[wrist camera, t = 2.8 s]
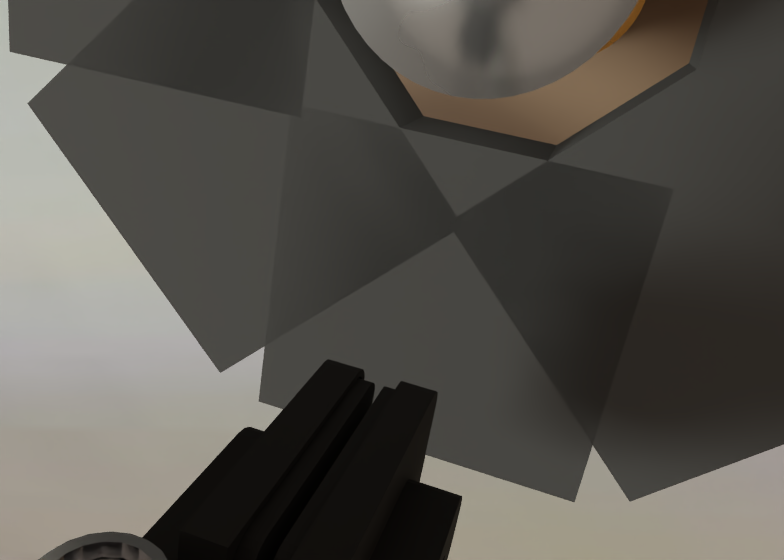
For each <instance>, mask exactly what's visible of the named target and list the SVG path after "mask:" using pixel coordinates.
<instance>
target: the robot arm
mask: <svg viewBox="0 0 784 560" xmlns="http://www.w3.org/2000/svg"><path fill="white" fill-rule="evenodd" d="M364 379H365V372H364V370H363V369H360V368H357V367H354V366H350V365H347V364H344V363H340V362H337V361H333V360H330V359H327V360H326V361H325V362H324V363H323V364H322V365H321V366H320V367H319V369H318V370H317V371H316V372H315V373H314V374H313V376H312V377H311V378H310V379H309V380H308V381H307V383H306V384H305V385H304V386H303V387H302V388H301V389H300V391H299V392H298V393H297V394H296V395H295V396H294V398H293V399H292V400H291V401H290V402H289V403H288V405H287V406H286V407H285V408H284V409H283V410H282V411H281V413H280V414H279V415H278V416H277V417H276V418H275V420H274V421H273V422H272V423H271V424H270V425H269V427H268V428H267V429H266V430H265V431H261V430H258V429H255V428H252V427H247V428H244V429H243V430H242V431H241V432H239V433H238V434H237V435H236V436H235V438H234V439H233V440H232V441H231V442H230V443H229V444H228V445H227V446H226V447H225V448H224V449H223V451H222V452H221V453H220V454H219V455H218V456H217V457H216V458H215V459H214V460H213V461H212V463H211V464H210V465H209V466H208V467H207V468H206V469H205V470H204V471H203V472H202V473H201V474H200V476H199V477H198V478H197V479H196V480H195V481H194V482H193V483H192V484H191V485H190V486H189V487H188V489H187V490H186V491H185V492H184V493H183V494H182V495H181V496H180V497H179V498H178V499H177V501H176V502H175V503H174V504H173V505H172V506H171V507H170V508H169V509H168V510H167V511H166V512H165V514H164V515H163V516H162V517H161V518H160V519H159V520H158V521H157V522H156V523H155V524H154V526H153V527H152V528H151V529H150V530H149V531H148V532H147V533H146V534H145V535H144V536H143V537H142V538H141V537H138V536H136V535H133V534H128V533H118V532H103V533H94V534H88V535H85V536H82V537H79V538H75V539H72V540H69V541H67V542H65V543H64V544H62V545H60V546H58V547H57V548H55V549H53V550H51V551H50V552H48V553H47V554H45V555H44V556H43V557H41V558H40V559H39V560H447V558H448V555H449V551H450V547H451V543H452V539H453V535H454V531H455V527H456V523H457V519H458V515H459V511H460V506H461V501H462V496H460V495H457V494H454V493H451V492H447V491H444V490H441V489H438V488H435V487H432V486H429V485H426V484H423V483H420V477H421V473H422V468H423V463H424V459H425V454H426V449H427V445H428V440H429V435H430V431H431V426H432V422H433V417H434V412H435V408H436V403H437V396H438V392H437V391H434V390H431V389H427V388H424V387H421V386H417V385H414V384H411V383H407V382H404V381H400V383H399V384H398V385H397V387H396V389H393V388H389V387H386V386H384V387H383V388H382V390H381V391H380V393H379V394H378V396H377V397H376V399H375V400H374V402H373V398H374V392H375V384H374V383H373V382H369V381H366V380H364ZM372 403H373V404H372Z"/></svg>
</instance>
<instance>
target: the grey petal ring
mask: <svg viewBox="0 0 784 560" xmlns="http://www.w3.org/2000/svg"><path fill="white" fill-rule="evenodd" d="M8 9H9V40H10V52H14V53H18V54H22V55H27V56H31V57H36V58H40V59H44V60H49V61H53V62H58V63H62V64H67V65H66V66H65V67H64V68H63V69H62V70H61V71H60V72H59V73H58V74H57V75H56V76H55V77H54V78H53V79H52V80H51V81H50V82H49V83H48V84H47V85H46V86H45V87H44V88H43V89H42V90H41V91H40V92H39V93H38V94H37V95H36V96H35V97H34V98H33V99H32V100H31V101H30V102H29V103H28V105H29V106H30V108H31V109H32V110H33V112H34V113H35V115H36V116H37V117H38V119H39V120H40V122H41V123H42V124H43V126H44V127H45V129H46V130H47V131H48V133H49V134H50V136H51V137H52V138H53V140H54V141H55V143H56V144H57V145H58V147H59V148H60V150H61V151H62V152H63V154H64V155H65V157H66V158H67V159H68V161H69V162H70V163H71V165H72V166H73V168H74V169H75V170H76V172H77V173H78V175H79V176H80V177H81V179H82V180H83V182H84V183H85V184H86V186H87V187H88V189H89V190H90V191H91V193H92V194H93V196H94V197H95V198H96V200H97V201H98V203H99V204H100V205H101V207H102V208H103V210H104V211H105V212H106V214H107V215H108V217H109V218H110V219H111V221H112V222H113V224H114V225H115V226H116V228H117V229H118V231H119V232H120V233H121V235H122V236H123V238H124V239H125V240H126V242H127V243H128V245H129V246H130V247H131V249H132V250H133V252H134V253H135V254H136V256H137V257H138V259H139V260H140V261H141V263H142V264H143V266H144V267H145V268H146V270H147V271H148V273H149V274H150V275H151V277H152V278H153V280H154V281H155V282H156V284H157V285H158V286H159V288H160V289H161V291H162V292H163V293H164V295H165V296H166V298H167V299H168V300H169V302H170V303H171V305H172V306H173V307H174V309H175V310H176V312H177V313H178V314H179V316H180V317H181V319H182V320H183V321H184V323H185V324H186V326H187V327H188V328H189V330H190V331H191V333H192V334H193V335H194V337H195V338H196V340H197V341H198V342H199V344H200V345H201V347H202V348H203V349H204V351H205V352H206V354H207V355H208V356H209V358H210V359H211V361H212V362H213V363H214V365H215V366H216V368H217V369H218V370H219V372H220V373H221V372H222V371H224V370H226V369H227V368H229V367H231V366H232V365H234V364H236V363H237V362H239V361H241V360H242V359H244V358H246V357H247V356H249V355H251V354H252V353H254V352H256V351H257V350H259V349H261V348H262V347H264V346H265V350H264V359H263V368H262V377H261V386H260V395H259V402H262V403H266V404H269V405H272V406H275V407H278V408H281V409H284V408H285V407H286V406H287V405H288V403H289V402H290V401H291V400H292V399H293V398H294V396H295V395H296V394H297V393H298V392H299V391H300V389H301V388H302V387H303V386H304V385H305V384H306V383H307V381H308V380H309V379H310V378H311V377H312V376H313V374H314V373H315V372H316V371H317V370H318V369H319V367H320V366H321V365H322V364H323V363H324V362H325V361H326V360H327V359H330V360H333V361H337V362H340V363H344V364H347V365H350V366H354V367H357V368H360V369H363V370H364V372H365V379H364V380H366V381H369V382H373V383H374V384H375V392H374V398H373V402H374V400H375V399H376V397H377V396H378V394H379V393H380V391H381V390H382V388H383V387H384V386H386V387H389V388H393V389H396V387H397V385H398V384H399V383H400V381H404V382H407V383H411V384H414V385H417V386H421V387H424V388H427V389H431V390H434V391H437V392H438V396H437V403H436V408H435V412H434V417H433V422H432V426H431V431H430V435H429V440H428V445H427V449H426V454H425V455H428V456H431V457H435V458H438V459H441V460H444V461H447V462H450V463H453V464H456V465H460V466H463V467H466V468H469V469H472V470H475V471H478V472H481V473H485V474H488V475H491V476H494V477H497V478H500V479H503V480H506V481H510V482H513V483H516V484H519V485H522V486H525V487H528V488H532V489H535V490H538V491H541V492H544V493H547V494H550V495H553V496H557V497H560V498H563V499H566V500H569V501H572V502H575V499H576V495H577V492H578V489H579V486H580V483H581V480H582V477H583V473H584V470H585V467H586V464H587V461H588V458H589V455H590V451H591V448H592V445H593V446H594V448H595V449H596V451H597V452H598V454H599V455H600V457H601V458H602V460H603V461H604V463H605V464H606V466H607V467H608V469H609V471H610V472H611V474H612V475H613V477H614V478H615V480H616V481H617V483H618V484H619V486H620V487H621V489H622V490H623V492H624V494H625V495H626V497H627V498H628V500H629V501H633V500H635V499H638V498H641V497H643V496H646V495H649V494H651V493H654V492H657V491H660V490H662V489H665V488H668V487H670V486H673V485H676V484H678V483H681V482H684V481H686V480H689V479H692V478H695V477H697V476H700V475H703V474H705V473H708V472H711V471H713V470H716V469H719V468H721V467H724V466H727V465H729V464H732V463H735V462H738V461H740V460H743V459H746V458H748V457H751V456H754V455H756V454H759V453H762V452H764V451H767V450H770V449H773V448H775V447H778V446H781V445H783V444H784V0H708V3H707V6H706V9H705V12H704V16H703V19H702V22H701V25H700V29H699V32H698V35H697V38H696V42H695V45H694V48H693V52H692V55H691V58H690V61H689V63H688V64H687V65H685V66H684V67H682V68H680V69H679V70H677V71H676V72H674V73H672V74H671V75H669V76H667V77H666V78H664V79H663V80H661V81H659V82H658V83H656V84H655V85H653V86H651V87H650V88H648V89H646V90H645V91H643V92H642V93H640V94H638V95H637V96H635V97H634V98H632V99H630V100H629V101H627V102H625V103H624V104H622V105H621V106H619V107H617V108H616V109H614V110H612V111H611V112H609V113H608V114H606V115H604V116H603V117H601V118H600V119H598V120H596V121H595V122H593V123H591V124H590V125H588V126H587V127H585V128H583V129H582V130H580V131H579V132H577V133H575V134H574V135H572V136H570V137H569V138H567V139H566V140H564V141H562V142H561V143H559V144H558V145H554V144H550V143H545V142H540V141H536V140H531V139H527V138H522V137H517V136H513V135H508V134H504V133H499V132H494V131H490V130H485V129H481V128H476V127H472V126H467V125H462V124H458V123H453V122H449V121H444V120H439V119H435V118H430V117H426V116H423V114H422V113H421V111H420V109H419V108H418V106H417V105H416V103H415V102H414V100H413V99H412V97H411V96H410V94H409V92H408V91H407V89H406V88H405V86H404V85H403V83H402V82H401V80H400V78H399V77H398V75H397V74H396V72H395V71H394V69H393V68H392V67H390V66H389V65H388V64H387V63H385V62H384V61H383V60H382V59H381V58H380V57H379V56H378V55H377V54H376V53H375V52H374V51H373V50H372V49H371V48H370V47H369V46H368V45H367V43H366V42H365V41H364V39H363V38H362V36H361V35H360V34H359V32H358V31H357V30H356V28H355V27H354V25H353V23H352V21H351V20H350V18H349V16H348V14H347V12H346V11H345V9H344V6H343V4H342V1H341V0H8ZM372 404H373V403H372Z"/></svg>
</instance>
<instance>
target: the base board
mask: <svg viewBox="0 0 784 560" xmlns="http://www.w3.org/2000/svg"><path fill="white" fill-rule="evenodd" d="M707 3H708V0H645V3H644V5H643V7H642V9H641V11H640V13H639V15H638V16H637V18H636V20H635V21H634V23H633V24H632V25H631V26H630V28H629V29H628V30H627V31H626V32H625V33H624V34H623V35H622V36H621V37H620V38H619V39H618V40H617V41H616V42H614V43H613V44H612V45H610V46H609V47H607V48H606V49H604V50H602V51H600V52H598V53H596V54H595V55H594V56H593V57H592V58H590V59H589V60H588V61H586V62H585V63H584V64H582V65H581V66H580V67H578V68H577V69H576V70H574V71H573V72H571V73H569V74H568V75H566V76H564V77H562V78H561V79H559V80H557V81H555V82H553V83H551V84H549V85H546V86H544V87H541V88H539V89H537V90H534V91H531V92H527V93H523V94H519V95H516V96H511V97H503V98H496V99H470V98H462V97H455V96H450V95H447V94H443V93H439V92H436V91H433V90H430V89H428V88H426V87H423V86H421V85H419V84H416V83H414V82H413V81H411V80H409V79H408V78H406V77H404V76H403V75H401V74H399V73H398V72H396V71H395V70H394V71H395V72H396V74H397V75H398V77H399V78H400V80H401V82H402V83H403V85H404V86H405V88H406V89H407V91H408V92H409V94H410V96H411V97H412V99H413V100H414V102H415V103H416V105H417V106H418V108H419V109H420V111H421V113H422V114H423V116H426V117H430V118H435V119H439V120H444V121H449V122H453V123H458V124H462V125H467V126H472V127H476V128H481V129H485V130H490V131H494V132H499V133H504V134H508V135H513V136H517V137H522V138H527V139H531V140H536V141H540V142H545V143H550V144H554V145H558V144H559V143H561V142H562V141H564V140H566V139H567V138H569V137H570V136H572V135H574V134H575V133H577V132H579V131H580V130H582V129H583V128H585V127H587V126H588V125H590V124H591V123H593V122H595V121H596V120H598V119H600V118H601V117H603V116H604V115H606V114H608V113H609V112H611V111H612V110H614V109H616V108H617V107H619V106H621V105H622V104H624V103H625V102H627V101H629V100H630V99H632V98H634V97H635V96H637V95H638V94H640V93H642V92H643V91H645V90H646V89H648V88H650V87H651V86H653V85H655V84H656V83H658V82H659V81H661V80H663V79H664V78H666V77H667V76H669V75H671V74H672V73H674V72H676V71H677V70H679V69H680V68H682V67H684V66H685V65H687V64H688V63H689V61H690V58H691V55H692V52H693V48H694V45H695V42H696V38H697V35H698V32H699V29H700V25H701V22H702V19H703V16H704V12H705V9H706V6H707Z"/></svg>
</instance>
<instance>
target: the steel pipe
mask: <svg viewBox="0 0 784 560" xmlns="http://www.w3.org/2000/svg"><path fill="white" fill-rule="evenodd" d="M341 1H342V4H343V6H344V9H345V11H346V12H347V14H348V16H349V18H350V20H351V21H352V23H353V25H354V27H355V28H356V30H357V31H358V32H359V34H360V35H361V36H362V38H363V39H364V41H365V42H366V43H367V45H368V46H369V47H370V48H371V49H372V50H373V51H374V52H375V53H376V54H377V55H378V56H379V57H380V58H381V59H382V60H383V61H384V62H385V63H387V64H388V65H389V66H390V67H392V68H393V69H394V70H395V71H396V72H398V73H399V74H401V75H403V76H404V77H406V78H408V79H409V80H411V81H413V82H414V83H416V84H419V85H421V86H423V87H426V88H428V89H430V90H433V91H436V92H439V93H443V94H447V95H450V96H455V97H462V98H470V99H496V98H503V97H511V96H516V95H519V94H523V93H527V92H531V91H534V90H537V89H539V88H541V87H544V86H546V85H549V84H551V83H553V82H555V81H557V80H559V79H561V78H562V77H564V76H566V75H568V74H569V73H571V72H573V71H574V70H576V69H577V68H578V67H580V66H581V65H582V64H584V63H585V62H586V61H588V60H589V59H590V58H592V57H593V56H594V55H595V54H596V53H598V52H600V51H602V50H604V49H606V48H607V47H609V46H610V45H612V44H613V43H614V42H616V41H617V40H618V39H619V38H620V37H621V36H622V35H623V34H624V33H625V32H626V31H627V30H628V29H629V28H630V26H631V25H632V24H633V23H634V21H635V20H636V18H637V16H638V15H639V13H640V11H641V9H642V7H643V5H644V3H645V0H341Z"/></svg>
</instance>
